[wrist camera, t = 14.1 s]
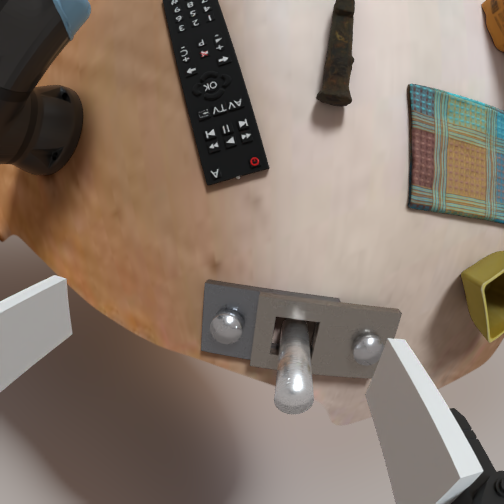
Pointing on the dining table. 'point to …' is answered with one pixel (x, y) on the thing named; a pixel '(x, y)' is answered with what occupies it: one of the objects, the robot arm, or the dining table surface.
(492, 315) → the flower pot
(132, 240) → the dining table surface
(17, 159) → the robot arm
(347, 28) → the hand tool
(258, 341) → the grey block with knob
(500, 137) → the dish towel
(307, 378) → the steel pin
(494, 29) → the coffee package
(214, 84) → the remote control
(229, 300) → the lower chain end
